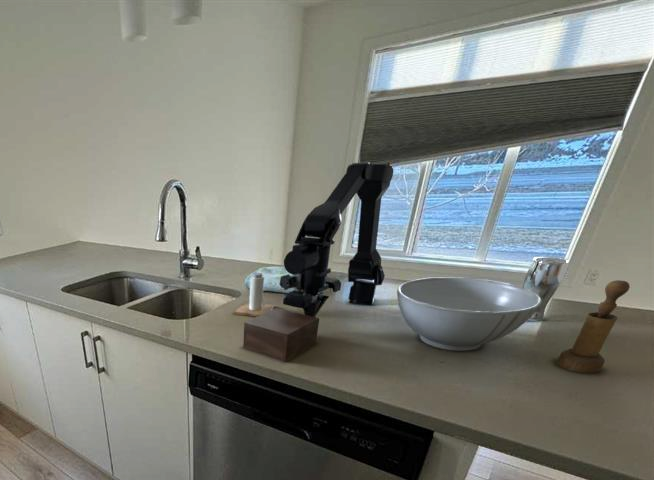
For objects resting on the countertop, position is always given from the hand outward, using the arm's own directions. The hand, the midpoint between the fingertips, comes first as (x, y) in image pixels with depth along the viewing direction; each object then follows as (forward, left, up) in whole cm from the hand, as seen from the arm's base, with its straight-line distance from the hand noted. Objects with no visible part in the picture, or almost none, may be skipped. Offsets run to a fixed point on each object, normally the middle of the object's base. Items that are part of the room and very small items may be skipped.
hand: (309, 322), depth 110 cm
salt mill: (+19, -10, -2) cm, 21 cm away
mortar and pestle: (-54, 0, -3) cm, 54 cm away
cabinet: (+4, +13, -2) cm, 14 cm away
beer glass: (-49, -29, -3) cm, 57 cm away
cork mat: (+19, -10, -2) cm, 22 cm away
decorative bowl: (-32, -5, -3) cm, 33 cm away
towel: (+21, -39, -3) cm, 44 cm away
